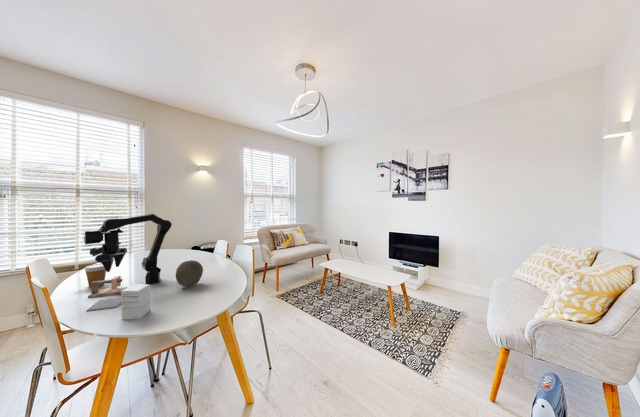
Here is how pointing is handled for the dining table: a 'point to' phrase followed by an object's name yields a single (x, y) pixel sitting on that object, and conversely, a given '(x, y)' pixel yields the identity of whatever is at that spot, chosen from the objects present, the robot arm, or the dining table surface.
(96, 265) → the disposable coffee cup
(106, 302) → the coaster
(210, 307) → the dining table surface
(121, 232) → the robot arm
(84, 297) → the dining table surface
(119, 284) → the u-shaped block
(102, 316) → the dining table surface
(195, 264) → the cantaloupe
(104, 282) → the stand
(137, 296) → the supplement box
